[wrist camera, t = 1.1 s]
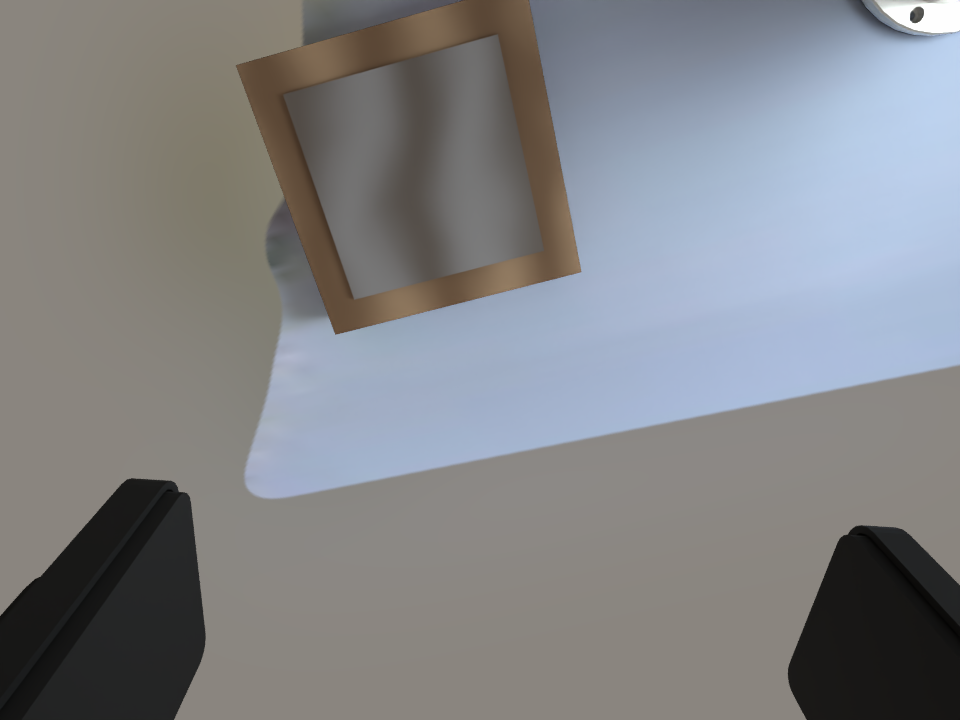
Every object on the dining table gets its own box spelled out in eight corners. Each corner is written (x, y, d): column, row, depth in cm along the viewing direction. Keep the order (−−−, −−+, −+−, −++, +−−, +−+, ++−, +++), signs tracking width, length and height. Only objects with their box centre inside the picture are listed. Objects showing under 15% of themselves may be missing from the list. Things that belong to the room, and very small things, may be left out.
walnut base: (518, -6, 36) (526, -19, 32) (570, 256, 42) (582, 273, 38) (257, 68, 37) (233, 65, 33) (345, 314, 43) (334, 336, 39)
